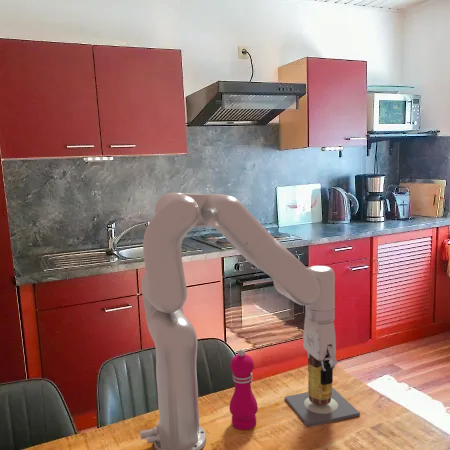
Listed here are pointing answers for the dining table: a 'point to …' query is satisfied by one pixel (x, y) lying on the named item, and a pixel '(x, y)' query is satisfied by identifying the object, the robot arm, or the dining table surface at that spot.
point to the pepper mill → (243, 392)
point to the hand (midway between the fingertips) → (320, 377)
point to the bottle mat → (321, 409)
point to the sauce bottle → (318, 383)
